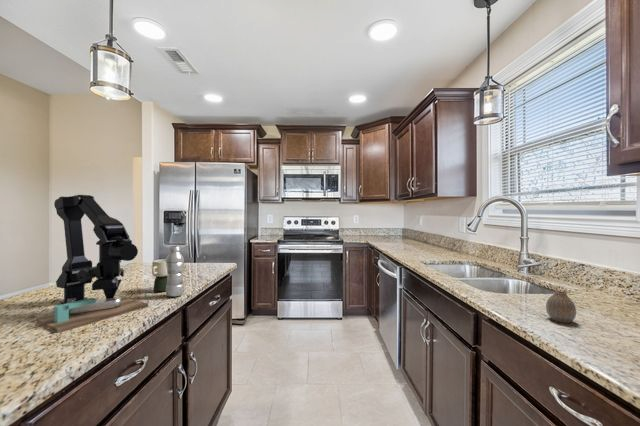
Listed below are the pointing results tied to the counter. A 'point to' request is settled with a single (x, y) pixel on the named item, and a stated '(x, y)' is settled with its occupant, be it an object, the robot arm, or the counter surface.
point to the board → (91, 316)
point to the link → (95, 305)
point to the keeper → (63, 310)
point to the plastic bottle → (174, 272)
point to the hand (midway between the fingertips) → (109, 302)
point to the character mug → (160, 274)
